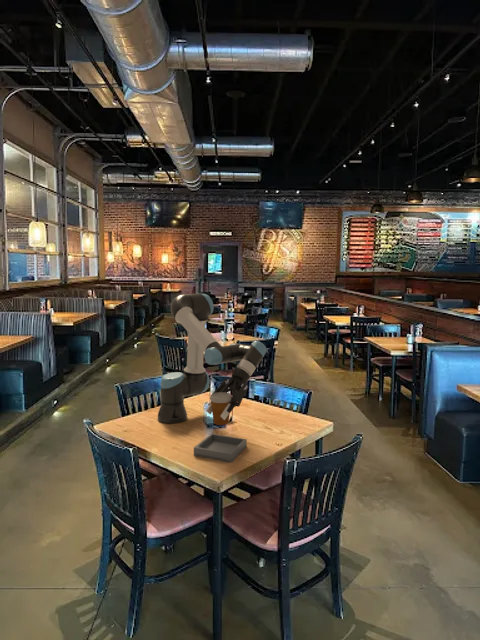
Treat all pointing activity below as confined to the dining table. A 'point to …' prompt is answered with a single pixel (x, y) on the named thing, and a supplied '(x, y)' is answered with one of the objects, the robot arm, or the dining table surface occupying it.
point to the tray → (220, 447)
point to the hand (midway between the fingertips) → (215, 415)
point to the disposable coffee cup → (220, 406)
